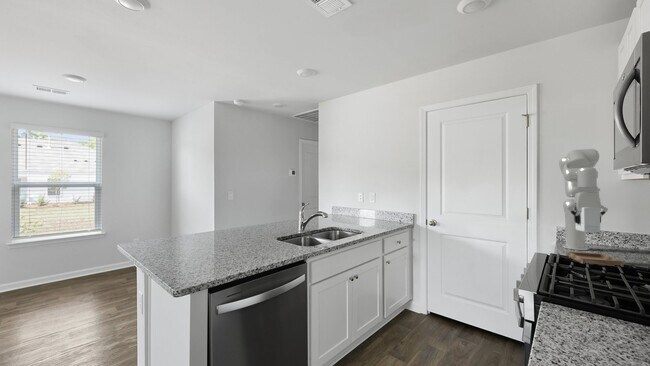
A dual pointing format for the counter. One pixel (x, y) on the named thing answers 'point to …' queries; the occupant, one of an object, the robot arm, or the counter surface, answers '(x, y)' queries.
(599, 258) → the walnut tray
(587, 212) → the supplement box
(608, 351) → the counter surface
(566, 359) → the counter surface
